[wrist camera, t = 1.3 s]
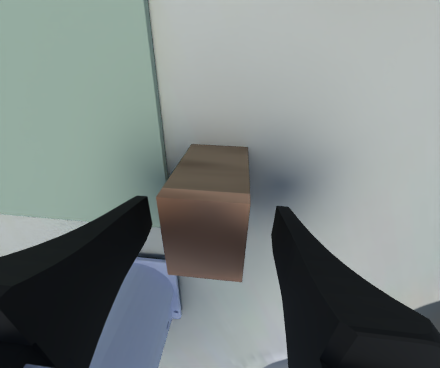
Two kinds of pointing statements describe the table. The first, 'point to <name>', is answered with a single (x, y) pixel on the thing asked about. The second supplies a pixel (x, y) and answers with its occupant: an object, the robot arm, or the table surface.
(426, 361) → the robot arm
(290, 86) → the table surface
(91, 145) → the sage mat
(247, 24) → the table surface
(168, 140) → the table surface
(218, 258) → the walnut block
